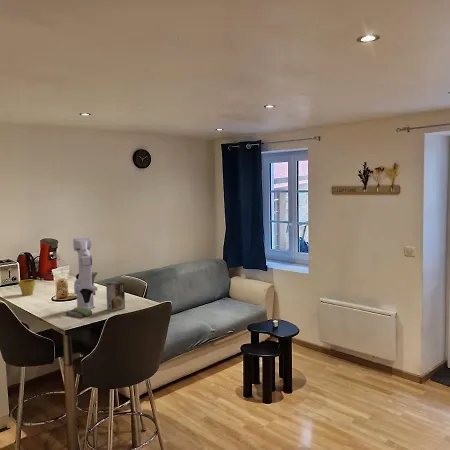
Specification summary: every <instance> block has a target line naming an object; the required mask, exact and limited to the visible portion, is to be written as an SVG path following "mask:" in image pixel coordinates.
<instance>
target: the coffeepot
mask: <svg viewBox="0 0 450 450" xmlns="http://www.w3.org/2000/svg"><path fill="white" fill-rule="evenodd" d="M97 274H98V272H95V271H92V286H95V284H94V283H95V278H96V276H97ZM78 278H79V273H77V274H76V275H75V279H76V280H77V279H78ZM79 284H80V283H79ZM92 294H93V296H96V291H93V292H92Z"/></svg>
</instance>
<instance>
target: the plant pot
mask: <svg viewBox="0 0 450 450" xmlns="http://www.w3.org/2000/svg"><path fill="white" fill-rule="evenodd" d="M35 286H36V279H22V280H19V281H18V287H19V288H20V292H21V295H22V297H23V296H24V297H28V296H32V295H33V294H34V290H35Z"/></svg>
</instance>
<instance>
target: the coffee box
mask: <svg viewBox="0 0 450 450" xmlns="http://www.w3.org/2000/svg"><path fill="white" fill-rule="evenodd" d="M105 284H106V309H107V310H108V311H111V312H113V311H114V312H115V311H119V310H123V309H124V310H125V309H126V299H125V298H126V297H125V294H126V293H125V282H123V281H120V280H119V281H118V280H117V281H112V282H106V283H105Z"/></svg>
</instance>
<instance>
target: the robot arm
mask: <svg viewBox="0 0 450 450" xmlns="http://www.w3.org/2000/svg"><path fill="white" fill-rule="evenodd" d="M72 245H73V250H74V252H76V253H77V255H78V257H77V259H78V261H77V263H78V274H79V278H78V279H76V280H75V281H74V284H73V290H74V294H75V295H76V305H77V306H76V307H77V308H78V307H79V306H82V307H88V308H91V309H93V308H95V302H94V295H93V294H92V292H93V291H95V292H97V291H98V286H95V285H94V286H92V272H93V271H92V266H93V256H92V255H91V253H90V250H91V248H92V239H91V237H84V238H83V237H77V238H76V237H74V238H73V240H72ZM79 283H80V284H79ZM76 307H74V308H73V310H74V309H75V308H76Z"/></svg>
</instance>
